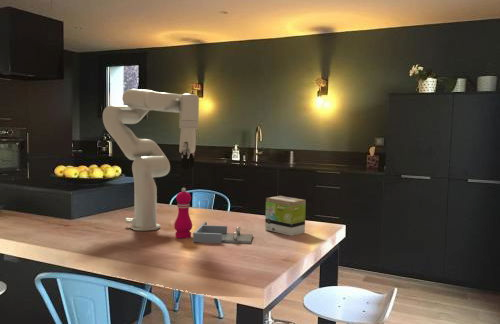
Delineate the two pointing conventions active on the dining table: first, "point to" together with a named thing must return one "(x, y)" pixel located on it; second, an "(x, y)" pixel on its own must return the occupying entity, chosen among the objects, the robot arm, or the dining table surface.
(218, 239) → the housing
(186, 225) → the pepper mill
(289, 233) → the tea box
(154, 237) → the dining table surface
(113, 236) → the dining table surface
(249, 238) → the base plate
